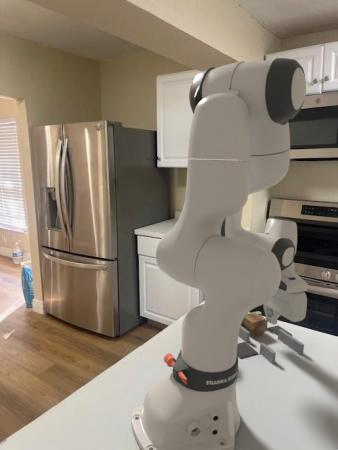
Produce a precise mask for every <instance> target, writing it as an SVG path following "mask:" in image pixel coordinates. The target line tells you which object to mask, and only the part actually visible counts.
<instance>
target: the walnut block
mask: <svg viewBox="0 0 338 450" xmlns="http://www.w3.org/2000/svg"><path fill="white" fill-rule="evenodd" d="M250 313H251V314H247V315H246V316H245V317H244V319H243V321H242V324H241V326H242V327H244V328H245V329H246V330H247V331H249V332H250V338H255V337H259V336H264V335H265V330H266V329H265V319H264V318H265V317H264V318H262V317H263V316H262V317H261V316H259V315H258V314H256V313H252V312H250Z"/></svg>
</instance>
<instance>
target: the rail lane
mask: <svg viewBox="0 0 338 450" xmlns="http://www.w3.org/2000/svg"><path fill="white" fill-rule="evenodd" d="M251 313H256V314H258V315H259V316H261V317H262V318H264V319H265V318H266V317H264V316H263V314H262V313H263V312H261V311H259V310H258V311H253V312H249V313H248V314H251ZM268 323H269V322H268V321H266V320H265V330H267V329H268ZM241 324H242V323H241ZM238 338H240V339H242V340H243V342H246V343H249V342H250V338H251V337H250V332H249V331H247V330H246V329H245V328H244V327H242V326H240V330H239V337H238ZM277 340H279V341H280V342H281V343H283V344H284V345H286V346H287V347H288V348H290V349H291V350H292V351H294V352H295V353H297V354H298V355H300V356H302V355H304V350H305V344H304V343H303V342H302V341H299V340H298V339H296V338H295V337H294V336H293V335H289V334H288V333H286V332H285V331H283V330H282V329H280V330H279V331H278V335H277ZM276 353H277V352H276V351H275V350H274V349H272V348H271V347H269V346H268V345H267V344H265V343H264V342H261V343H260V345H259V354H260V355H261V356H263V358H264V359H266V360H267V361H268V362H270V364H275V363H276V356H277V354H276Z"/></svg>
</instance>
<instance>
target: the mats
mask: <svg viewBox="0 0 338 450" xmlns="http://www.w3.org/2000/svg"><path fill="white" fill-rule="evenodd" d="M267 329H268V330H270V331H271V332H273V333H274V334H275V335H277V336H278V331H279V330H280V329H282V330H283V331H285V332H286V333H288V334H289V335H291V336H293V335H292V333H291V332H289V331H287V330H286V329H284V328H283V327H282V326H281V325H277V324H276V325H272V326H269V327H267ZM255 355H259V352H258V351H257V350H256V349H254V347H252V346H251V345H250V344H249V343H248V342H245V341H243V342H238V345H237V356H238V359H243V358H249V357H251V356H255Z"/></svg>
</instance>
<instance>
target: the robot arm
mask: <svg viewBox="0 0 338 450" xmlns="http://www.w3.org/2000/svg"><path fill="white" fill-rule="evenodd" d="M306 81H307V80H306V75H305V70H304V67H303V66H302V65H301V64H300V63H299V62H298V60H296V59H294V58H293V59H292V58H286V57H284V58H283V57H277V58H274V59H272V60H271V59H266V60H264V59H263V60H252V61H251V60H249V61H243V60H242V61H237V62H232V63H229V64H228V63H227V64H224V65H221V66H218V67H214V66H213V67H209V68H207V69H204V70H202V71H200V72H199V73H198V74H196V75H195V77H194V78H193V80H192V82H191V85H190V87H189V93H188V94H189V95H188V98H189V106H190V109H191V111H192V113H193V117H192V120H191V125H190V126H191V127H190V130H189V131H190V132H189V139H188V146H187V147H188V148H187V168H186V169H187V170H186V184H185V194H184V195H185V197H184V202H183V207H182V210H181V212H180V215H179V217H178V219H177V221H176V223H175V224H174V226H173V227H172V228H171V229H170V230H169V231H167V232H166V233H164V234H163V235H162V237H161V239H160V240H159V242H158V244H157V246H156V252H155V261H156V264H157V267H158V269H159V270H160V271H161V272H163V273H164V274H166V275H167V276H168V277H170V278H171V279H173V280H174V281H176V282H178V283H180V284H183V285H186V286H189V287H191V288H194V289H197V290H199V291H202V292H203V293H204V303H202V304H199V305H196V306H194V307H192V308H191V309H190V310H189V311H187V313H186V314H185V315H184V317H183V319H182V321H181V322H182V323H181V345H180V346H181V349H180V351H179V352H178V355H177V357H176V358H175V357H174V356H173V354H172V353H166V354H165V356H164V357H163V362H164V363H165V364H166V365H167V367H169V368H172V369H171V370H170V371H169V372H167V373H166V374H165V375H164V376H163V377H162V378H161V379H160V380H158V381H157V382H156V383H154V384H153V385H152V386H151V387H150V388H149V389H147V391H146V393H145V395H144V401H143V404H139V406H138V405H137V406H136V407H135V408H134V409H133V411H132V415H131V428H132V433H133V436H134V439H135V440H136V442H137V445H138V446H139V448H140V450H235V448H236V438H235V437H236V436H237V433H238V431H239V429H240V426H241V415H240V411H239V408H238V407H239V406H238V401H237V389H236V381H237V379H238V375H239V357H238V356H237V345H238V343H239V338H240V337H239V330H240V326H241V323H242V321H243V319H244V317H245V316H246V315H247V314H248V313H251V311H252V310H254V309H256V308H258V307H261V306H263V310H264V314H265V317H264V318H265V320H266V321H268V323H269V324H271V325H272V326H276V325H277V324H278V319H279V317H281V316H282V317H284V318H286V319H287V320H288V321H290V322H293V323H296V322H297V323H298V322H301V321H303V320H304V319H305V318H306V317H307V316H306V315H307V306H308V305H307V304H308V298H307V294H306V291H308V289H309V284H308V282H306V281H305V280H304V279H303V278H302V277H301V276H300V275H299V274H298V273H297V272H296V271H295V261H294V260H295V256H296V254H297V248H298V247H297V246H298V226H297V223H296V221H294V220H291V219H289V218H288V219H287V218H280V217H269V218H268V219H267V220H266V223H265V228H264V232H257V231H252V230H246V229H244V227H243V226H242V223H241V222H242V217H243V208H244V207H245V206H246V204H247V202H248V196H250V195H252V194H256V193H260V192H263V191H265V190H267V189H270V188H272V187H273V186H276V185H277V184H278V183H280V182H281V181H282V180H283V179H284V178H285V176H286V175H287V173H288V171H289V168H290V163H291V162H290V161H291V135H290V134H291V133H290V125H289V120H293V118H295V116H296V115H297V114H298V113H299V112H300V111H301V110H302V107H303V104H304V102H305V97H306V92H307V82H306Z"/></svg>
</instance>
